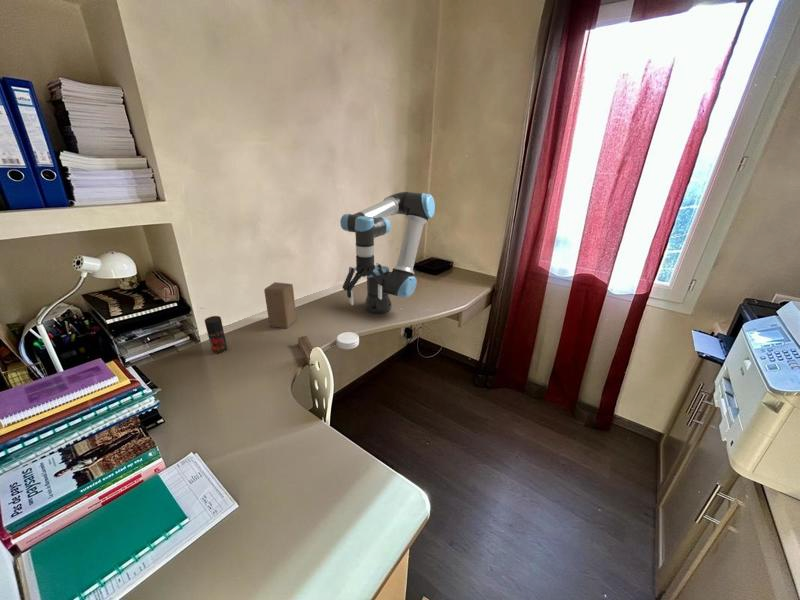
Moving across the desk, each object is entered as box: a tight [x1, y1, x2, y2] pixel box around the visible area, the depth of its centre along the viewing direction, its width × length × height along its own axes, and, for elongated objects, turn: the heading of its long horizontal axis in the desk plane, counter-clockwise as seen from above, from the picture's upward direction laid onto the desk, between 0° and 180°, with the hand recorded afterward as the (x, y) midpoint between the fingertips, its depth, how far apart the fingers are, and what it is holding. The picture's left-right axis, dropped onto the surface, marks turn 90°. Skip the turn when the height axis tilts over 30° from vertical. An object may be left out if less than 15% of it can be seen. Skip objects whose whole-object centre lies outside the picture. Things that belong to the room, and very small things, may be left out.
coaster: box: [335, 331, 360, 350], centre depth 151 cm, size 10×10×4 cm
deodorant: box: [204, 315, 228, 354], centre depth 141 cm, size 6×6×15 cm
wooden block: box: [263, 282, 297, 329], centre depth 163 cm, size 10×10×20 cm
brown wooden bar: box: [297, 335, 314, 366], centre depth 143 cm, size 4×18×4 cm, turn 28°
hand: (366, 301), depth 149 cm, fingers open, 13 cm apart
